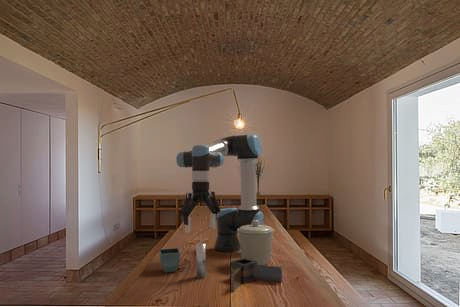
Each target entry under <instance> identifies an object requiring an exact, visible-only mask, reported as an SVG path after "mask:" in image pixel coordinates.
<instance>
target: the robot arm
mask: <svg viewBox="0 0 460 307" xmlns="http://www.w3.org/2000/svg"><path fill="white" fill-rule="evenodd" d="M262 151H263V146H262V141H261V139H260V137H258V135H256V134H242V135H241V134H240V135H230V136H229V135H228V136H227V137H223V138H220V139H217V140H216V141H214V143H211V144H208V145H206V144H204V145H203V144H200V145H198V144H197V145H196V144H195V145H193V146H192V150H189V151H180V152H179V153H177V154H176V159H175V161H176V164H177V166H178V167H180V168H185V169H186V168H191V180H192V182H191V190H192V192H186V194H185V199H184V201H183V204H182V206H181V208H180V212H179V216H181V217H183V225H184V232H185V233H187V234H190V233H191V216H190V215H191V214H192V211H194V209H195V208H196V206H197V205H198V204H200V203H204V204H205V205H206V206H207V208H208V209H209V211H210V212H211V213H210V215H209V216H210V217H209V218H210V219H209V220H210V221H209V222H210V223H209V224H210V227H209V228H210V229H213V230H217V231H216V234H217V235H216V239H215V243H214V245H213V246H214V248H213V249H214V250H215V251H217V252H223V253H224V252H225V253H227V252H228V253H230V252H238V251H241V249H240V240H239V233H238V231H237V229H238V228H240V227H241V226H244V225H253V224H252V221H253V220H258V221H259V225H264V213H263V212H262V211H260V207H259V206H258V205H257V174H256V172H257V168H256V167H257V166H256V162H257V161H258V160H259V156H261V155H262ZM225 157H237V158H236V159H237V160H238V162H240V163H239V167H240V169H239V170H240V173H239V174H240V175H239V176H240V206H239V207H238V208H237V207H227V208H221V209H220V206H219V203H218V201H217V198H216V193H215V191H210V181H209V180H210V168H215V169H216V168H219V167H222V165H223V164H224V161H225V159H224V158H225Z"/></svg>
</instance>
